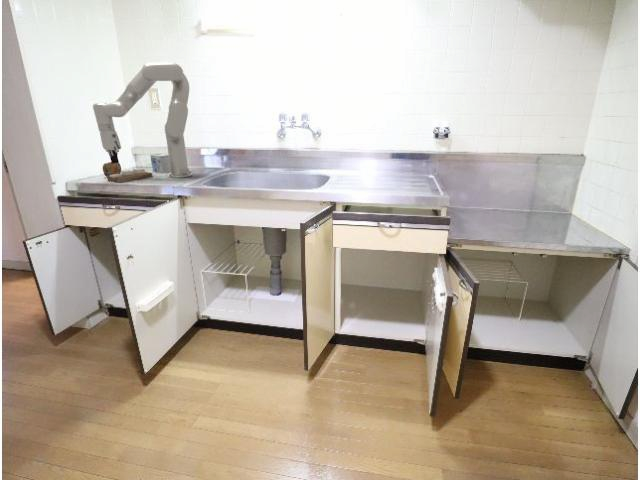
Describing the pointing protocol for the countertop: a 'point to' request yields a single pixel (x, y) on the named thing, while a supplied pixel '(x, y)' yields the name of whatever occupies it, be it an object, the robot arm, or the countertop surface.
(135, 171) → the end button
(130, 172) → the middle button
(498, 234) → the countertop surface
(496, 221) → the countertop surface
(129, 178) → the button board
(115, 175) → the end button
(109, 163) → the tin
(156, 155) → the light bulb box
